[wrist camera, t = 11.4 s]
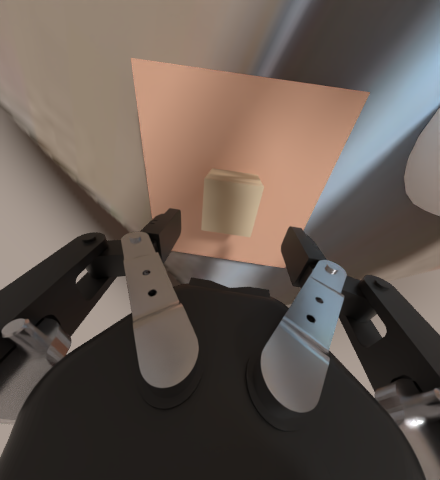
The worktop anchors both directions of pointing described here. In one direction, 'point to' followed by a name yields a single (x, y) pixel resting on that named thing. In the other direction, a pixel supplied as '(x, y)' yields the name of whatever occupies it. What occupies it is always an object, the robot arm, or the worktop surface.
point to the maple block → (230, 202)
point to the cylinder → (425, 168)
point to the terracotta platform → (239, 148)
